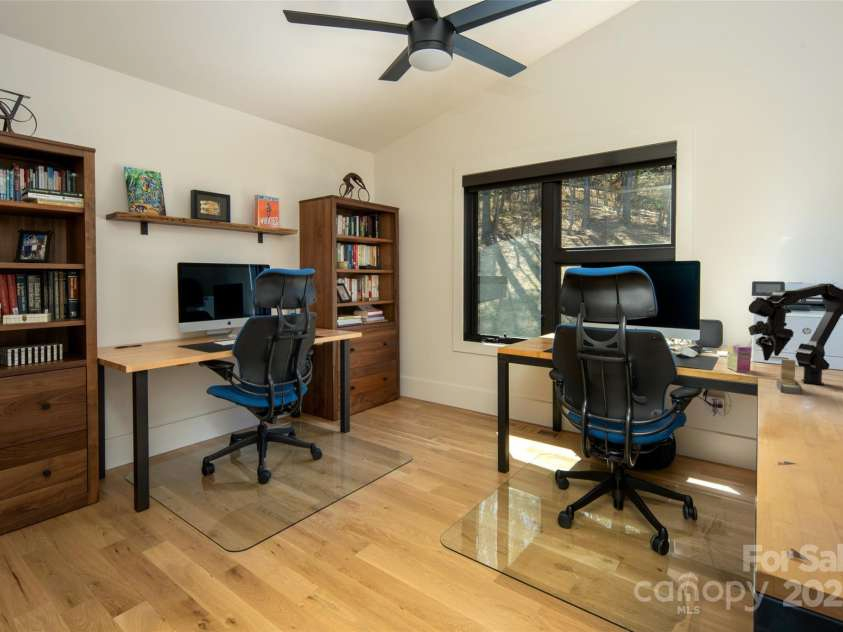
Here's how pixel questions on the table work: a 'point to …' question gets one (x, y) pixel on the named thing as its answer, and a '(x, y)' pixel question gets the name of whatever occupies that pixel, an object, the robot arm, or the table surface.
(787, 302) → the robot arm
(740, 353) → the box
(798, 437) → the table surface
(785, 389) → the trap lane
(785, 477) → the table surface
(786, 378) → the oak block
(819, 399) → the table surface
